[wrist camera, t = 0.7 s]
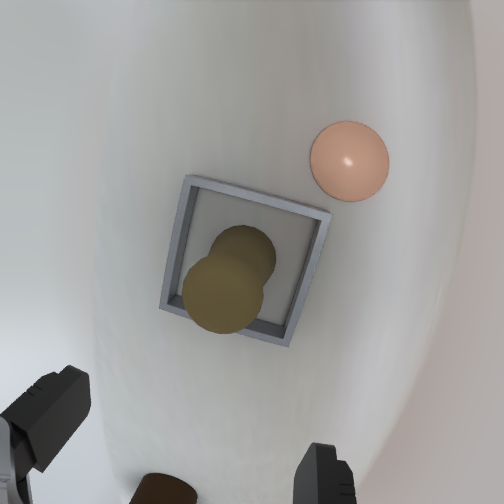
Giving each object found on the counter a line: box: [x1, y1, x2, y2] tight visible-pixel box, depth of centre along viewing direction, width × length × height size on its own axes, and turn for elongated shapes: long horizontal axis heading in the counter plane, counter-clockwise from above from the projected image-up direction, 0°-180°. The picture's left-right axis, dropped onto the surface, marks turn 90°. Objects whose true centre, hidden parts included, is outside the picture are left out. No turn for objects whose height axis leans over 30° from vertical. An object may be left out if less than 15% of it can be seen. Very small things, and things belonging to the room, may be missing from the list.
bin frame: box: [159, 175, 332, 347], centre depth 28 cm, size 12×12×2 cm
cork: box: [182, 225, 276, 334], centre depth 24 cm, size 6×6×11 cm
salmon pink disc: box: [310, 121, 389, 201], centre depth 26 cm, size 7×7×1 cm
